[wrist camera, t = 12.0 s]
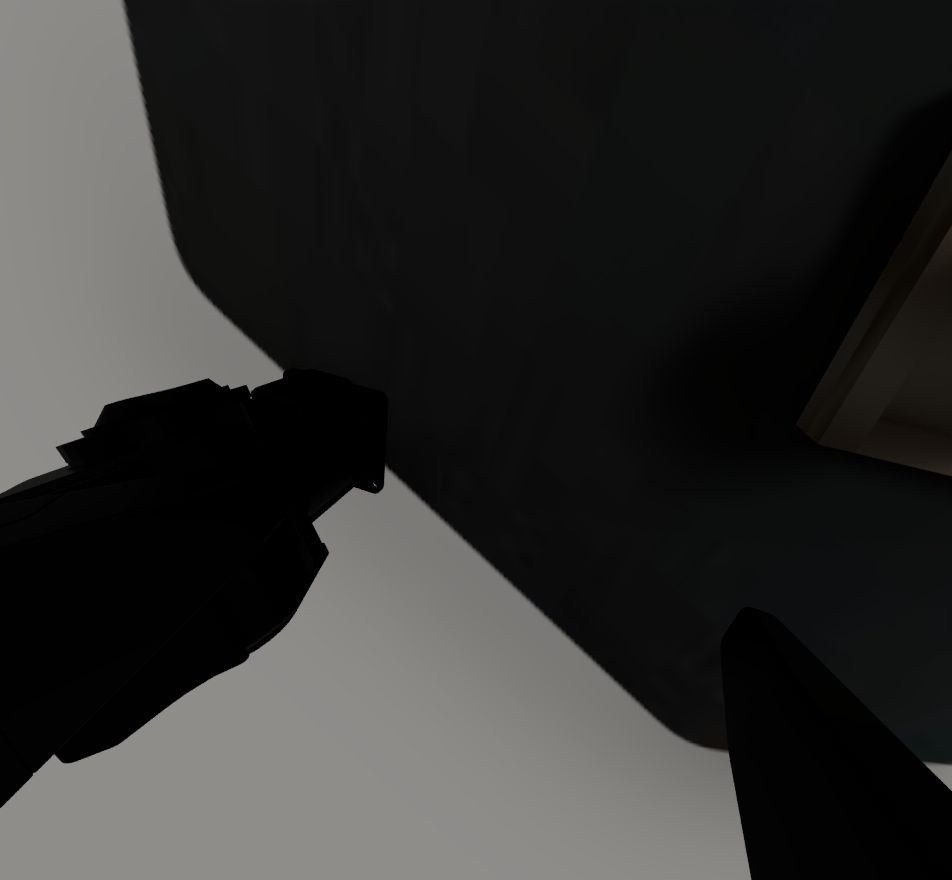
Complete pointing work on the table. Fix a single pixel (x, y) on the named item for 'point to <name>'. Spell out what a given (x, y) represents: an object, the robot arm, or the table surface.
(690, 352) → the table surface
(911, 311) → the birch stand
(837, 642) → the table surface
